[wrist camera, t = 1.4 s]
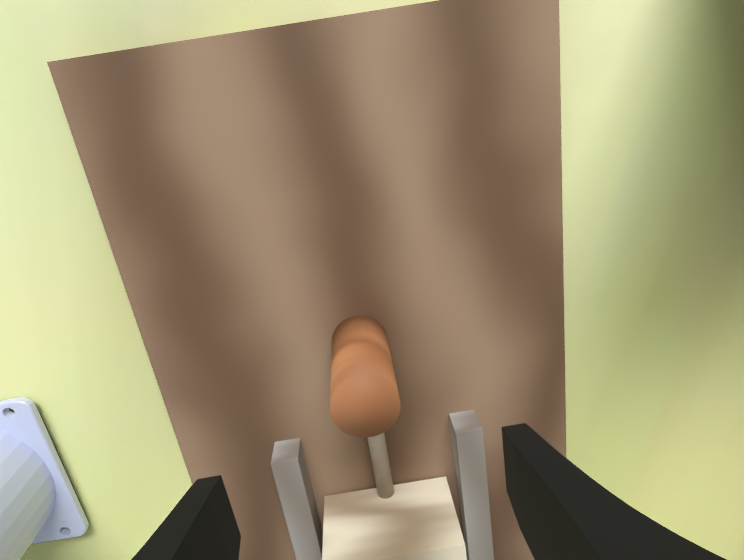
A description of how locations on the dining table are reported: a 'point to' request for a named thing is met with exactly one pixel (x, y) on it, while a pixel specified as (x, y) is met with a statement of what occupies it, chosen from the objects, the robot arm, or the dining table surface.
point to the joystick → (380, 464)
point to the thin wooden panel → (341, 247)
